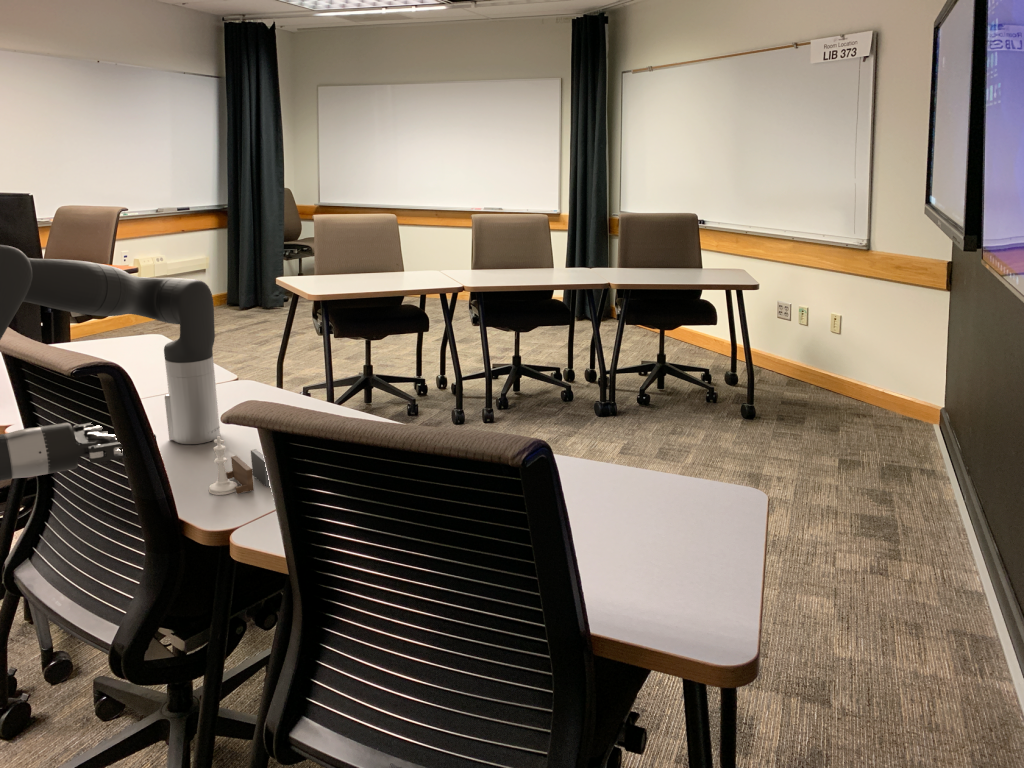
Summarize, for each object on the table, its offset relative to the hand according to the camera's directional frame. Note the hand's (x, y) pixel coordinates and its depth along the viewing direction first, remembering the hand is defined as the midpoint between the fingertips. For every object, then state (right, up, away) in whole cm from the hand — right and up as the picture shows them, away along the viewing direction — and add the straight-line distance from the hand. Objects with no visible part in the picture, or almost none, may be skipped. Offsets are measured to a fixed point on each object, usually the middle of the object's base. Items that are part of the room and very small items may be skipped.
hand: (149, 432), depth 147 cm
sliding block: (+12, -10, +12) cm, 20 cm away
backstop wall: (+15, -10, +14) cm, 23 cm away
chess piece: (+9, -11, +10) cm, 18 cm away
